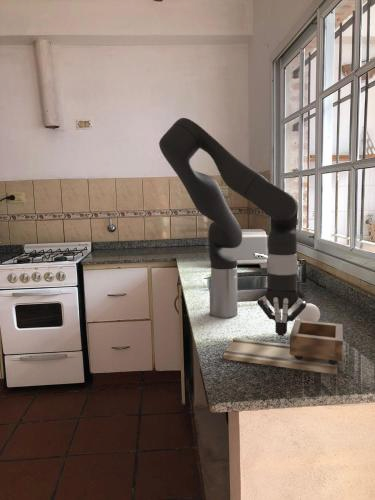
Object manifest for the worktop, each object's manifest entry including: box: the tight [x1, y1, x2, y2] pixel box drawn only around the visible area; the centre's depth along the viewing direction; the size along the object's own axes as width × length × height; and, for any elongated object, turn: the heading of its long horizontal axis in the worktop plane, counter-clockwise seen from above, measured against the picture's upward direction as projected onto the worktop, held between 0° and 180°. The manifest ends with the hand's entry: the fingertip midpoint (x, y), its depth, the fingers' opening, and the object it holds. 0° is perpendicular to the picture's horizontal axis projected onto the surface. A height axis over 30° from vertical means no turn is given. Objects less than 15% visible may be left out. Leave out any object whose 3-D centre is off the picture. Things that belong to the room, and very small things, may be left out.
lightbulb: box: [297, 302, 321, 322], centre depth 112 cm, size 6×6×11 cm
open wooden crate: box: [289, 319, 344, 364], centre depth 98 cm, size 12×12×7 cm
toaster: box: [223, 228, 269, 269], centre depth 226 cm, size 19×34×20 cm, turn 89°
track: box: [223, 337, 339, 376], centre depth 102 cm, size 28×12×2 cm, turn 69°
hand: (281, 334), depth 102 cm, fingers closed
